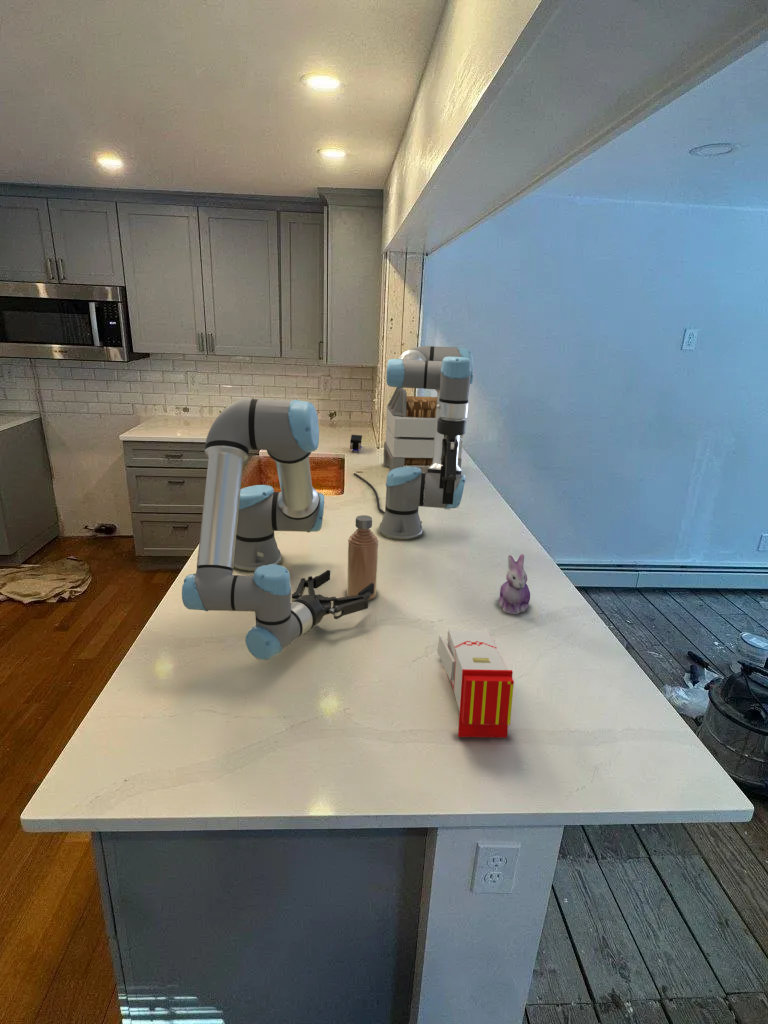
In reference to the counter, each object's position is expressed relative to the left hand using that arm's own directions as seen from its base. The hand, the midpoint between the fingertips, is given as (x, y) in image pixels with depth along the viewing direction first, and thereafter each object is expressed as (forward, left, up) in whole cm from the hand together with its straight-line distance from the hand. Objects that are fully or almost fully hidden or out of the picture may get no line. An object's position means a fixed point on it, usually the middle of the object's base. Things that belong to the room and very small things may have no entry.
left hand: (350, 581), depth 149 cm
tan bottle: (0, +6, -7) cm, 9 cm away
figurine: (+38, +23, -7) cm, 45 cm away
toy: (+41, -18, -7) cm, 45 cm away
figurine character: (-89, +147, -7) cm, 172 cm away
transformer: (-41, +127, -7) cm, 134 cm away
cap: (0, +6, +15) cm, 17 cm away
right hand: (+15, +23, +20) cm, 35 cm away
